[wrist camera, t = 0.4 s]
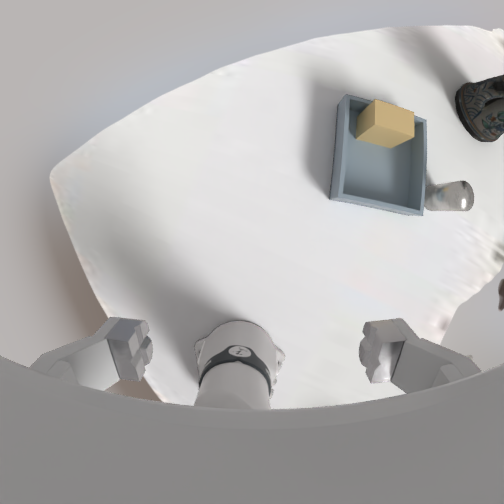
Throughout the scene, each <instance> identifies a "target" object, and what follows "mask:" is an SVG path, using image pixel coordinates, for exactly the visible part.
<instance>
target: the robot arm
mask: <svg viewBox="0 0 504 504" xmlns="http://www.w3.org/2000/svg"><path fill="white" fill-rule="evenodd" d="M148 332H149V327H148V323H147V322H146V321H145V320H137V319H128V318H121V317H110V318H109V319H108V320H107V321H106V322H105V323H104V324H103V325H102V326H101V327H100V329H99V330H98V331H97V332H96V333H95V334H94V335H93V336H88V337H85V338H83V339H81V340H78V341H75V342H73V343H70V344H68V345H65V346H62V347H60V348H57V349H55V350H52V351H49V352H47V353H44V354H42V355H41V356H40V357H39V358H38V359H37V360H36V361H35V362H34V363H33V364H32V365H31V366H30V367H29V368H28V367H25V366H23V365H20V364H18V363H15V362H13V361H11V360H9V359H6V358H4V357H2V356H0V504H504V363H503V364H501V365H498V366H496V367H493V368H491V369H488V370H486V371H483V372H482V371H481V370H480V369H479V368H478V367H477V365H476V364H475V363H474V362H473V361H472V360H471V359H470V358H469V357H467V356H464V355H462V354H459V353H457V352H455V351H452V350H450V349H447V348H445V347H442V346H440V345H438V344H435V343H433V342H430V341H428V340H426V339H423V338H421V339H419V337H418V336H417V335H416V334H415V333H414V332H413V330H412V329H411V328H410V327H409V326H408V324H407V323H406V322H405V321H404V320H403V319H401V318H396V319H389V320H381V321H371V322H366V323H365V325H364V328H363V334H364V335H365V337H364V338H363V339H362V341H361V342H360V347H359V358H360V361H361V364H362V365H363V366H365V367H366V368H367V369H366V374H367V377H368V379H369V381H370V383H371V384H372V383H380V382H387V381H391V382H392V383H393V384H395V385H396V386H397V387H399V388H400V389H401V390H403V391H404V392H405V393H407V394H404V395H399V396H394V397H389V398H384V399H378V400H372V401H366V402H359V403H352V404H344V405H335V406H325V407H312V408H296V409H271V406H270V401H269V399H271V398H272V395H273V389H271V388H272V386H273V385H275V384H276V381H277V379H276V377H277V375H278V373H279V371H280V369H281V367H282V364H283V362H284V360H285V354H284V353H283V352H282V351H281V350H280V349H278V348H277V347H276V346H275V345H274V343H273V341H272V339H271V337H270V336H269V335H268V333H267V332H266V331H265V330H263V329H262V328H261V327H259V326H257V325H255V324H253V323H250V322H245V321H232V322H228V323H225V324H222V325H220V326H219V327H217V328H216V329H215V330H214V331H213V332H212V333H211V334H210V335H209V336H208V337H206V338H204V339H201V340H199V341H197V342H196V344H195V353H196V359H197V365H198V371H199V377H200V382H199V387H200V389H199V392H198V395H197V398H196V401H195V404H194V406H189V405H180V404H172V403H164V402H158V401H151V400H145V399H139V398H134V397H129V396H124V395H119V394H115V393H110V392H106V391H104V390H106V389H107V388H109V387H110V386H111V385H113V384H114V383H116V382H117V381H119V380H120V379H126V380H133V381H139V382H140V380H141V378H142V376H143V375H144V373H145V371H146V370H145V365H147V364H149V363H150V361H151V359H152V354H153V345H152V340H151V339H150V338H149V337H148V336H147V334H148ZM200 351H201V352H200ZM278 361H279V362H278Z"/></svg>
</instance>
